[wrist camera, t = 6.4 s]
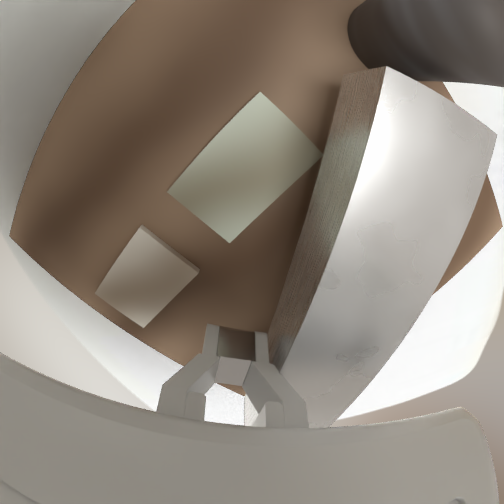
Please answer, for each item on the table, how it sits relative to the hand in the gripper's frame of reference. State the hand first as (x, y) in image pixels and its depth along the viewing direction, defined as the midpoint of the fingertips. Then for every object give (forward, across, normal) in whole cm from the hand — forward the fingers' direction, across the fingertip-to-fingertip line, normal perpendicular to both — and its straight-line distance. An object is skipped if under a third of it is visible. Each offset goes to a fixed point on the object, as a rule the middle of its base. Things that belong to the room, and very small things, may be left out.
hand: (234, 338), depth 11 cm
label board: (+4, 0, -4) cm, 6 cm away
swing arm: (+1, -4, -1) cm, 4 cm away
